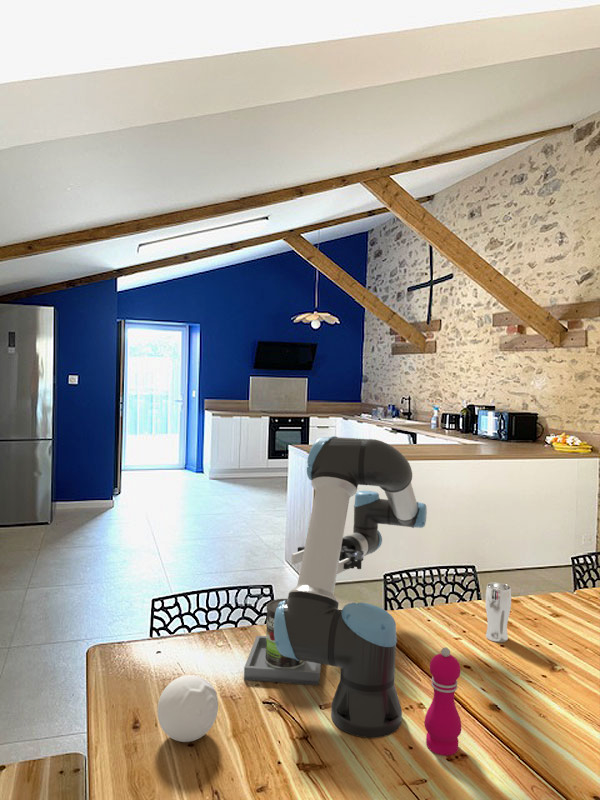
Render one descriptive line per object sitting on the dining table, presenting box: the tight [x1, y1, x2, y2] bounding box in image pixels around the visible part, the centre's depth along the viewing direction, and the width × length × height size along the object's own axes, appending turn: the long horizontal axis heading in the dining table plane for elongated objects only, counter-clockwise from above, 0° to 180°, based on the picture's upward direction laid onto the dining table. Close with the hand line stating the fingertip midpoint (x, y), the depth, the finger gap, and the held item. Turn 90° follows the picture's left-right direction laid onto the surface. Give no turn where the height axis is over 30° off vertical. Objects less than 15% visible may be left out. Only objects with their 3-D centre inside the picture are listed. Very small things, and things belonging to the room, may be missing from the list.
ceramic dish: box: [243, 635, 322, 686], centre depth 152 cm, size 18×18×3 cm
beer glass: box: [484, 581, 512, 643], centre depth 171 cm, size 7×7×15 cm
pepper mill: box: [424, 647, 462, 756], centre depth 119 cm, size 7×7×20 cm
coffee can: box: [265, 598, 305, 669], centre depth 152 cm, size 10×10×14 cm
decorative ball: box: [156, 674, 219, 743], centre depth 120 cm, size 12×12×12 cm
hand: (314, 564), depth 160 cm, fingers open, 13 cm apart
